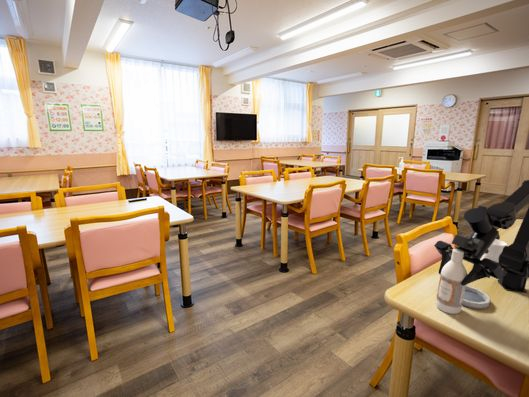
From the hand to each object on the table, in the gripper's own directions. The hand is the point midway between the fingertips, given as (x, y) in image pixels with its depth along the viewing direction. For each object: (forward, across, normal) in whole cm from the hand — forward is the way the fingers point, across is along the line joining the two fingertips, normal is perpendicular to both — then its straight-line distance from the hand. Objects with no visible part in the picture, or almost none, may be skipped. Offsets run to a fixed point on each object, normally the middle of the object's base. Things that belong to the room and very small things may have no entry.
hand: (450, 279), depth 89 cm
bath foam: (+7, 0, +9) cm, 11 cm away
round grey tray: (-1, -1, +16) cm, 17 cm away
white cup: (-27, -15, +42) cm, 52 cm away
